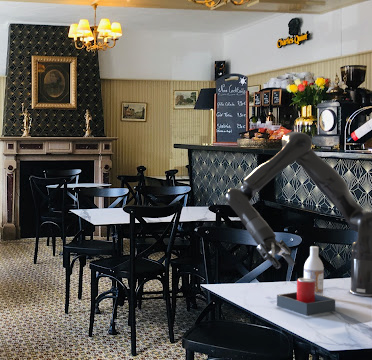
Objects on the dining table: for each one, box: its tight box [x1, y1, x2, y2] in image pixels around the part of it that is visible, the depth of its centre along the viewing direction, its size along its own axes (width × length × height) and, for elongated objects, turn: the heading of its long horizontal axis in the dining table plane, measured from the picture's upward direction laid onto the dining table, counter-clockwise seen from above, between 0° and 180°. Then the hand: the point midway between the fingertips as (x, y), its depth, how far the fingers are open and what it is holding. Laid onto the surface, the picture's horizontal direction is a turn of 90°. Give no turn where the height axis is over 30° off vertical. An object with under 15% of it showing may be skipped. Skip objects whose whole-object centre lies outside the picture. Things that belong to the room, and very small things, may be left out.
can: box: [296, 277, 315, 303], centre depth 212 cm, size 6×6×10 cm
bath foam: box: [303, 245, 325, 296], centre depth 230 cm, size 7×7×20 cm
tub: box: [276, 291, 336, 316], centre depth 213 cm, size 14×14×5 cm
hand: (286, 266), depth 219 cm, fingers open, 8 cm apart
